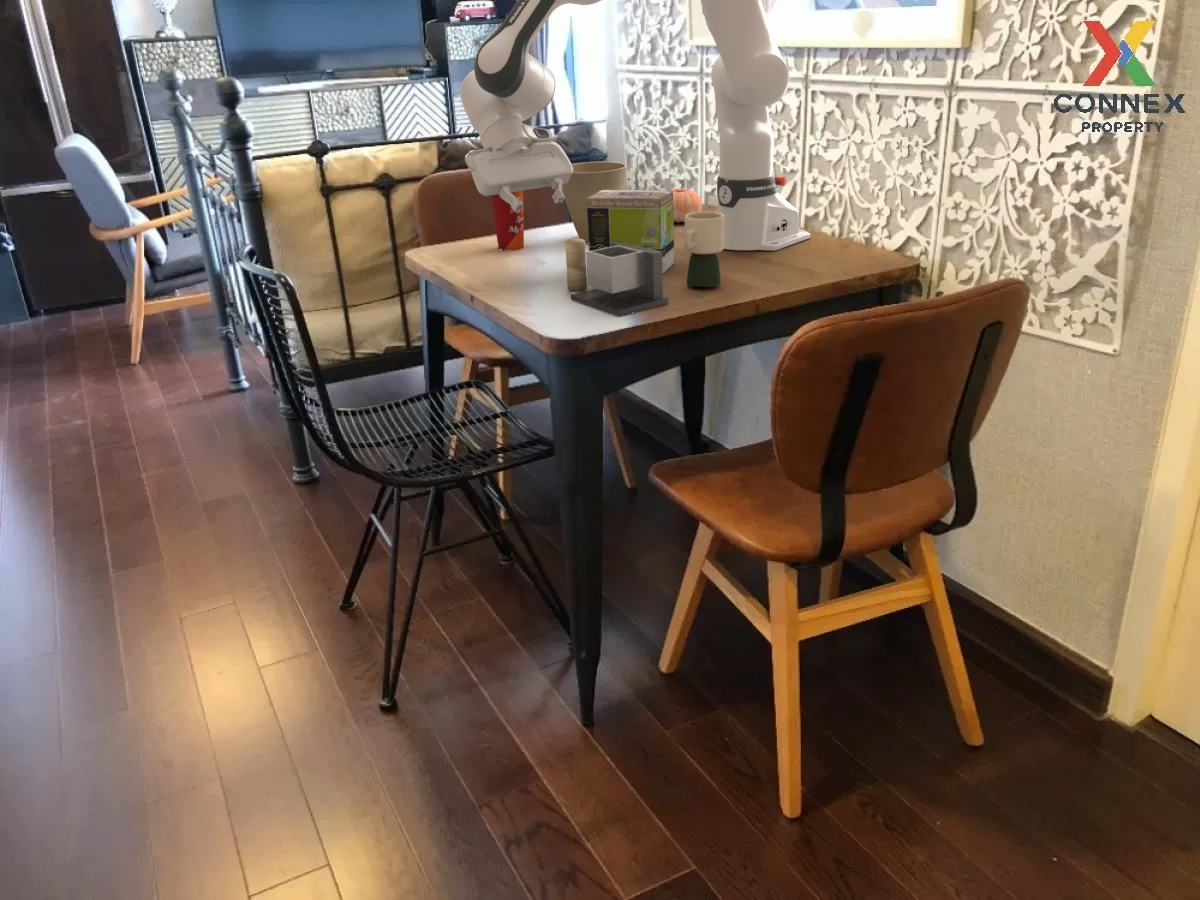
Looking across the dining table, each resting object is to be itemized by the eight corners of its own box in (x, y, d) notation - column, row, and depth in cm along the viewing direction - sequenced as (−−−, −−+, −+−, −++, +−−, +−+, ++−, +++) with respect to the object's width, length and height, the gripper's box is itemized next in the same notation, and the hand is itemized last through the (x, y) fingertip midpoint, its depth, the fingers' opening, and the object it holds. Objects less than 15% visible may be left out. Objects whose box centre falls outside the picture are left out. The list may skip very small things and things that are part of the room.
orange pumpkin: (710, 219, 226) (711, 185, 222) (685, 227, 218) (685, 193, 215) (673, 215, 232) (673, 182, 229) (648, 223, 224) (647, 189, 221)
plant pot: (588, 229, 220) (585, 160, 213) (640, 235, 212) (639, 163, 205) (549, 242, 209) (544, 169, 202) (603, 249, 201) (600, 173, 195)
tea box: (675, 263, 188) (674, 188, 182) (661, 276, 180) (660, 198, 173) (604, 260, 193) (602, 187, 187) (588, 272, 184) (585, 196, 178)
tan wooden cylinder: (579, 285, 176) (577, 237, 172) (590, 289, 173) (588, 240, 170) (564, 289, 174) (561, 240, 170) (575, 292, 171) (572, 244, 168)
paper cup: (523, 252, 202) (518, 186, 196) (489, 251, 204) (483, 186, 198) (532, 243, 209) (528, 179, 203) (499, 243, 211) (494, 179, 205)
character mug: (704, 277, 178) (704, 208, 172) (736, 282, 174) (737, 211, 168) (670, 290, 171) (670, 218, 165) (703, 296, 166) (704, 222, 161)
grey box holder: (619, 288, 173) (617, 239, 169) (668, 303, 163) (667, 252, 159) (570, 299, 167) (568, 249, 164) (618, 316, 157) (616, 263, 153)
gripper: (465, 140, 171) (497, 201, 168) (558, 129, 182) (589, 186, 178) (456, 163, 176) (487, 223, 173) (546, 151, 187) (577, 207, 184)
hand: (540, 204), depth 176 cm, fingers open, 8 cm apart
